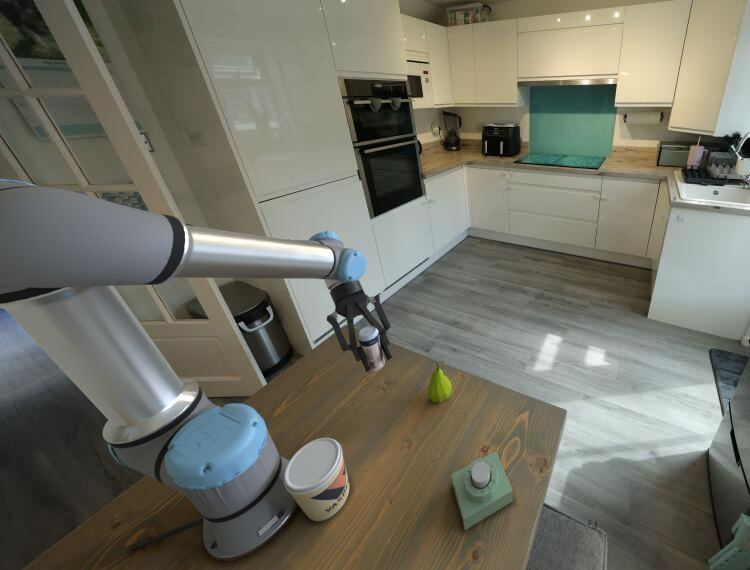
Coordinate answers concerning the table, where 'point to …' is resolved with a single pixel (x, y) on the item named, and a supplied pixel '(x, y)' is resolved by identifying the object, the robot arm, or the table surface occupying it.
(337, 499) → the ice cream tub
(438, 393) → the fruit
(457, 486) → the grey button cap base
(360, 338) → the beer can
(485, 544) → the table surface
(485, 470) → the grey button cap
